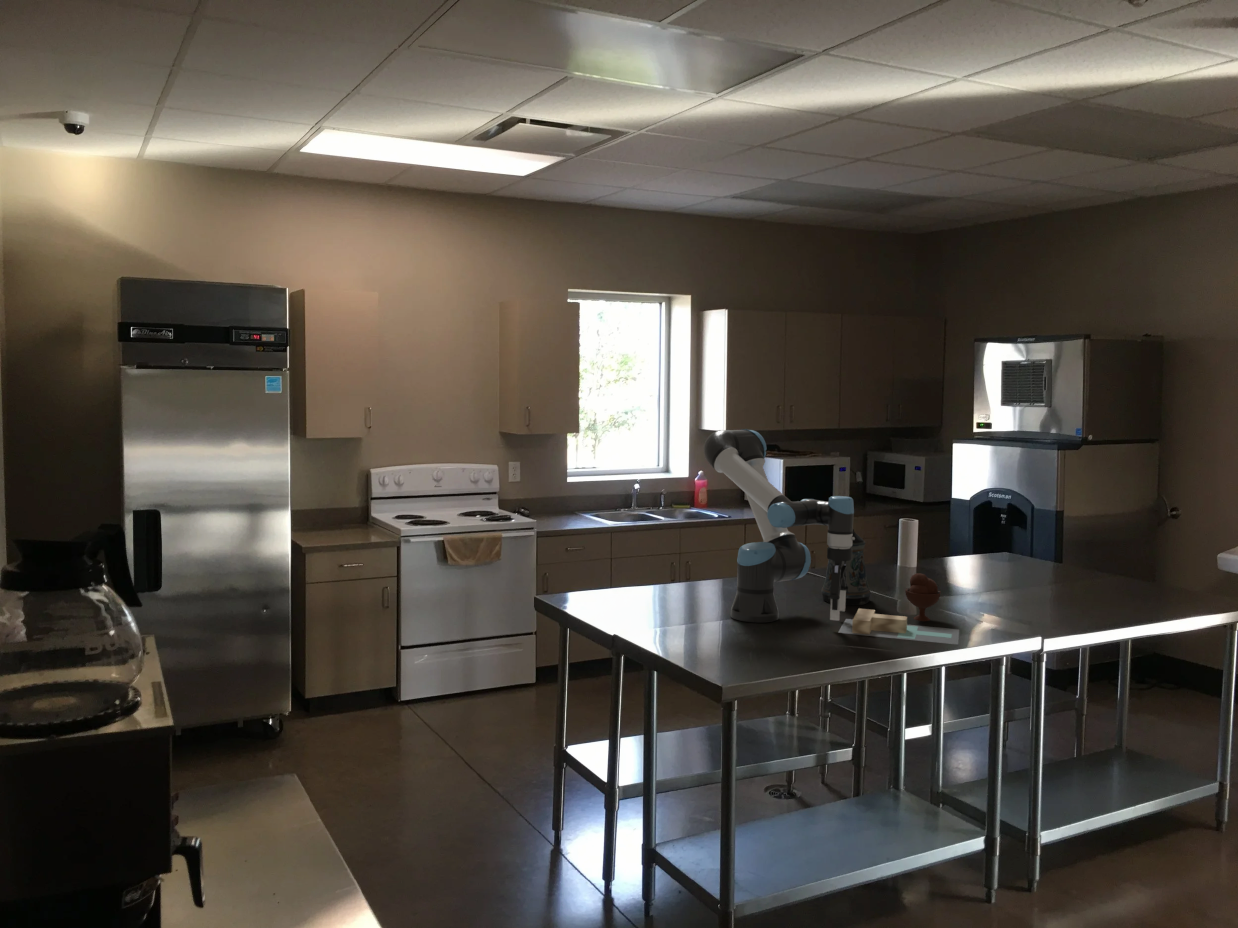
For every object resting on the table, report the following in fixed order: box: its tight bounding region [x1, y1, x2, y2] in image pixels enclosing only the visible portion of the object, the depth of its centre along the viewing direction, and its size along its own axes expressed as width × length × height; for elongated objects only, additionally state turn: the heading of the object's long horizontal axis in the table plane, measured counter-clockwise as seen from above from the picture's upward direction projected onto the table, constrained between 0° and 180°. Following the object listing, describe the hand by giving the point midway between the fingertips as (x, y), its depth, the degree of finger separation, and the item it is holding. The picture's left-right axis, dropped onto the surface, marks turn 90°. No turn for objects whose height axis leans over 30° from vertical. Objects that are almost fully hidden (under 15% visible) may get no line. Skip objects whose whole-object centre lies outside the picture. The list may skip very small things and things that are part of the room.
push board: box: [837, 618, 960, 645], centre depth 301 cm, size 34×19×1 cm, turn 70°
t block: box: [852, 608, 908, 634], centre depth 303 cm, size 15×16×4 cm
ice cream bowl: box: [904, 573, 942, 622], centre depth 316 cm, size 11×11×15 cm
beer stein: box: [820, 528, 871, 606], centre depth 343 cm, size 16×19×25 cm
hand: (837, 615), depth 307 cm, fingers open, 13 cm apart
